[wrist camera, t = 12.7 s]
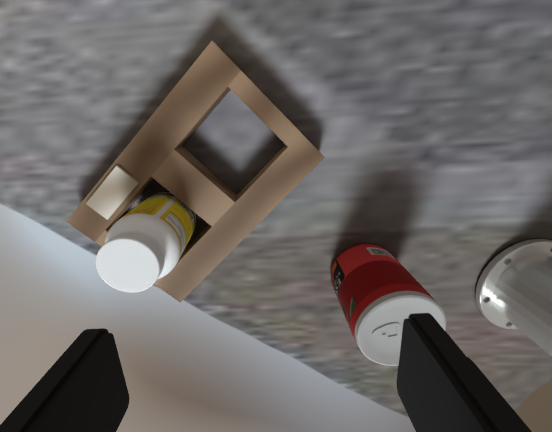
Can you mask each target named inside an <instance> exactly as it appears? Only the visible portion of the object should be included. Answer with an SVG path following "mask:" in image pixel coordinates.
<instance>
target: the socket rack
mask: <svg viewBox="0 0 552 432" xmlns="http://www.w3.org/2000/svg"><path fill="white" fill-rule="evenodd" d="M230 90H232V91H233V92H234V93H235V94H236V95H237V96H238V97H239V98H240V99H241V100H242V101H243V102H244V103H245V104H246V105H247V106H248V107H249V108H250V109H251V110H252V111H253V112H254V113H255V114H256V115H257V116H258V117H259V118H260V119H261V120H262V121H263V122H264V123H265V124H266V125H267V126H268V127H269V128H270V129H271V130H272V131H273V132H274V133H275V134H276V135H277V136H278V137H279V138H280V139H281V140H282V141H283V142H284V143H285V145H284V146H283V147H282V148H281V149H280V150H279V151H278V152H277V153H276V154H275V155H274V157H273V158H272V159H271V160H270V161H269V162H268V163H267V164H266V165H265V166H264V167H263V168H262V169H261V170H260V171H259V172H258V173H257V174H256V176H255V177H254V178H253V179H252V180H251V181H250V182H249V183H248V184H247V185H246V186H245V187H244V188H243V189H242V190H241V191H240V192H239V193H238V195H237V194H236V193H235V192H233V191H232V190H231V189H230V188H229V187H228V186H227V185H225V184H224V183H223V182H222V181H221V180H220V179H219V178H218V177H216V176H215V175H214V174H213V173H212V172H211V171H210V170H209V169H207V168H206V167H205V166H204V165H203V164H202V163H201V162H199V161H198V160H197V159H196V158H195V157H194V156H193V155H192V154H190V153H189V152H188V151H187V150H186V149H185V148H184V147H183V144H184V143H185V142H186V141H187V140H188V139H189V137H190V136H191V135H192V134H193V133H194V132H195V130H196V129H197V128H198V127H199V126H200V125H201V123H202V122H203V121H204V120H205V119H206V118H207V116H208V115H209V114H210V113H211V112H212V111H213V109H214V108H215V107H216V106H217V105H218V104H219V102H220V101H221V100H222V99H223V98H224V97H225V95H226V94H227V93H228V92H229V91H230ZM324 158H325V157H324V156H323V155H322V154H321V153H320V152H319V151H318V150H317V149H316V148H315V147H314V146H313V145H312V144H311V143H310V141H309V140H308V139H307V138H306V137H305V136H304V135H303V134H302V133H301V132H300V131H299V130H298V129H297V128H296V127H295V126H294V125H293V124H292V123H291V122H290V121H289V120H288V119H287V118H286V117H285V116H284V115H283V114H282V112H281V111H280V110H279V109H278V108H277V107H276V106H275V105H274V104H273V103H272V102H271V101H270V100H269V99H268V98H267V97H266V96H265V95H264V94H263V93H262V92H261V91H260V90H259V89H258V88H257V87H256V86H255V84H254V83H253V82H252V81H251V80H250V79H249V78H248V77H247V76H246V75H245V74H244V73H243V72H242V71H241V70H240V69H239V68H238V67H237V66H236V65H235V64H234V63H233V62H232V61H231V60H230V59H229V58H228V57H227V55H226V54H225V53H224V52H223V51H222V50H221V49H220V48H219V47H218V46H217V45H216V44H215V43H214V42H213V41H211V42H210V43H209V45H208V46H207V47H206V48H205V50H204V51H203V52H202V53H201V55H200V56H199V57H198V58H197V60H196V61H195V62H194V63H193V65H192V66H191V67H190V68H189V70H188V71H187V72H186V73H185V75H184V76H183V77H182V78H181V79H180V81H179V82H178V83H177V84H176V86H175V87H174V88H173V89H172V91H171V92H170V93H169V94H168V96H167V97H166V98H165V99H164V101H163V102H162V103H161V104H160V106H159V107H158V108H157V109H156V111H155V112H154V113H153V114H152V115H151V117H150V118H149V119H148V120H147V122H146V123H145V124H144V125H143V127H142V128H141V129H140V130H139V132H138V133H137V134H136V135H135V137H134V138H133V139H132V140H131V142H130V143H129V144H128V145H127V146H126V148H125V149H124V150H123V151H122V153H121V154H120V155H119V156H118V158H117V159H116V160H115V161H114V163H113V164H112V165H111V166H110V168H109V169H108V170H107V171H106V173H105V174H104V175H103V176H102V178H101V179H100V180H99V181H98V182H97V184H96V185H95V186H94V187H93V189H92V190H91V191H90V192H89V194H88V195H87V196H86V197H85V199H84V200H83V201H82V202H81V204H80V205H79V206H78V207H77V209H76V210H75V211H74V212H73V214H72V215H71V216H70V217H69V218H68V220H67V221H66V222H68V223H69V224H71V225H72V226H73V227H75V228H76V229H78V230H79V231H80V232H82V233H83V234H85V235H86V236H87V237H89V238H90V239H92V240H93V241H94V242H96V243H97V244H99V245H100V246H101V247H102V246H103V245H104V244H105V239H106V235H107V233H108V231H109V230H110V228H111V227H112V226H113V225H114V223H115V222H117V221H118V220H119V219H120V218H121V217H122V216H123V215H124V213H125V212H126V211H127V210H128V209H129V208H130V206H131V205H132V204H133V203H134V202H135V201H136V199H137V198H138V197H139V196H140V195H141V193H142V192H143V191H144V190H145V189H146V188H147V186H148V185H149V184H150V183H151V182H152V181H153V179H155V180H156V181H157V182H158V183H160V184H161V185H162V186H163V187H164V188H166V189H167V190H168V191H169V192H170V193H172V194H173V195H174V196H175V197H177V198H178V199H179V200H180V201H181V202H183V203H184V204H185V205H186V206H188V207H189V208H190V209H191V210H192V211H194V212H195V213H196V214H197V215H198V216H200V217H201V218H202V219H203V220H205V221H206V222H207V223H208V224H209V225H208V226H207V227H206V228H205V229H204V230H203V231H202V232H201V234H200V235H199V236H198V237H197V238H196V239H195V240H194V241H193V242H192V243H191V244H190V245H189V246H188V247H187V248H186V249H185V250H184V251H183V253H182V255H181V257H180V258H179V261H178V262H177V264H176V266H175V267H174V268H173V269H172V270H171V271H170V272H169V273H168V274H167V275H165V276H164V277H162V278H159V279H157V280H156V282H155V283H154V284H155V285H156V286H158V287H159V288H161V289H162V290H163V291H165V292H166V293H168V294H169V295H171V296H172V297H173V298H175V299H176V300H178V301H179V302H181V301H182V300H183V299H184V298H185V297H186V296H187V295H188V294H189V293H190V292H191V291H192V290H193V289H194V288H195V287H196V286H197V285H198V284H199V283H200V282H201V281H202V280H203V279H204V278H205V277H206V276H207V275H208V274H209V273H210V272H211V271H212V270H213V269H214V268H215V267H216V266H217V265H218V264H219V263H220V262H221V261H222V260H223V259H224V258H225V257H226V256H227V255H228V254H229V253H230V252H231V251H232V250H233V249H234V248H235V247H236V246H237V245H238V244H239V243H240V242H241V241H242V240H243V239H244V238H245V237H246V236H247V235H248V234H249V233H250V232H251V231H252V230H253V229H254V228H255V227H256V226H257V225H258V224H259V223H260V222H261V221H262V220H263V219H264V218H265V217H266V216H267V215H268V214H269V213H270V212H271V211H272V210H273V209H274V208H275V207H276V206H277V205H278V204H279V203H280V202H281V201H282V200H283V199H284V198H285V197H286V196H287V195H288V194H289V193H290V192H291V191H292V190H293V189H294V188H295V187H296V186H297V185H298V184H299V183H300V182H301V181H302V180H303V179H304V178H305V177H306V176H307V175H308V174H309V173H310V172H311V171H312V170H313V169H314V168H315V167H316V166H317V165H318V164H319V163H320V162H321V161H322V160H323V159H324Z"/></svg>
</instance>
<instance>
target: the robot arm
mask: <svg viewBox="0 0 552 432" xmlns="http://www.w3.org/2000/svg"><path fill="white" fill-rule="evenodd" d="M475 296H476V303H477V306H478V308H479V310H480V312H481V313H482V314H483V316H485V317H486V318H487V319H488V320H489V321H490V322H492V323H493V324H495V325H496V326H499V327H502V328H507V329H519V330H521V331H522V332H523V333H524V334H525V335H527V336H528V337H529V338H530V339H531V340H533V341H534V342H535V343H536V344H537V345H539V346H540V347H541V348H542V349H544V350H545V351H546V352H547V353H548V354H550V355H551V356H552V240H547V239H532V240H526V241H523V242H520V243H517V244H514V245H513V246H511V247H509V248H507V249H505V250H504V251H502V252H501V253H500V254H498V255H497V256H496V257H495V258H494V259H493V260H492V261H491V262H490V263H489V264H488V265H487V266H486V268H485V269H484V270H483V272H482V274H481V276H480V278H479V280H478V283H477V287H476V295H475ZM397 390H398V394H399V396H400V398H401V400H402V403H403V405H404V407H405V409H406V411H407V413H408V415H409V418H410V420H411V422H412V424H413V426H414V428H415V430H416V432H531V430H530V429H529V428H528V427H527V426H526V424H525V423H524V422H523V421H522V420H521V418H520V417H519V416H518V415H517V414H516V412H515V411H514V410H513V409H512V408H511V406H510V405H509V404H508V403H507V402H506V401H505V399H504V398H503V397H502V396H501V395H500V393H499V392H498V391H497V390H496V389H495V387H494V386H493V385H492V384H491V383H490V381H489V380H488V379H487V378H486V377H485V375H484V374H483V373H482V372H481V371H480V369H479V368H478V367H477V366H476V365H475V364H474V362H473V361H472V360H470V359H469V358H468V357H466V356H465V354H464V353H463V352H462V351H461V350H460V348H459V347H458V346H457V345H456V344H455V342H454V341H453V340H452V339H451V338H450V336H449V335H448V334H447V333H446V332H445V330H444V329H443V328H442V327H441V325H440V324H439V323H438V322H437V321H436V319H435V318H434V317H433V316H432V315H431V314H430V313H415V314H410V315H409V317H408V319H404V322H403V330H402V339H401V348H400V357H399V366H398V375H397ZM128 404H129V394H128V390H127V386H126V382H125V378H124V375H123V371H122V367H121V363H120V359H119V356H118V351H117V348H116V344H115V340H114V337H113V334H111V333H109V332H108V330H107V329H87V330H84V331H83V332H82V333H81V334H80V335H79V336H78V338H77V339H76V340H75V341H74V342H73V343H72V344H71V345H70V347H69V348H68V349H67V350H66V351H65V352H64V353H63V355H62V356H61V357H60V358H59V359H58V361H56V363H55V364H54V365H53V366H52V367H51V368H50V369H49V370H48V372H47V373H46V374H45V375H44V376H43V377H42V379H41V380H40V381H39V382H38V383H37V384H36V385H35V386H34V388H33V389H32V390H31V391H30V392H29V393H28V394H27V396H26V397H25V398H24V399H23V400H22V401H21V402H20V403H19V405H18V406H17V407H16V408H15V409H14V410H13V411H12V413H11V414H10V415H9V416H8V417H7V418H6V419H5V420H4V422H3V423H2V424H1V425H0V432H116V431H117V429H118V427H119V425H120V423H121V421H122V418H123V416H124V414H125V412H126V410H127V408H128Z"/></svg>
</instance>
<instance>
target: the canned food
mask: <svg viewBox="0 0 552 432" xmlns="http://www.w3.org/2000/svg"><path fill="white" fill-rule="evenodd" d="M331 283H332V286H333V288H334V291H335V293H336V296H337V298H338V300H339V303H340V305H341V308H342V310H343V312H344V315H345V317H346V320H347V322H348V324H349V327H350V329H351V332H352V334H353V336H354V338H355V341H356V343H357V345H358V346H359V348H360V350H361V351H362V353H363V354H364V355H365V356H366V357H367V358H368V359H370V360H371V361H373V362H376V363H378V364H382V365H387V366H398V365H399V357H400V348H401V339H402V330H403V322H404V319H408V317H409V315H410V314H415V313H430V314H431V315H432V316H433V317H434V318H435V319H436V321H437V322H438V323H439V324H440V325H441V327H442V328H443V329H444V330H446V317H445V315H444V312H443V310H442V309H441V308H440V306H439V305H438V303H437V302H436V301H435V300H434V299H433V298H432V297H431V295H430V294H429V293H428V292H427V291H426V290H425V289H424V288H423V287H422V286H421V285H420V284H419V283H418V282H417V281H416V279H415V278H414V277H413V276H412V275H411V274H410V273H409V272H408V271H407V270H406V269H405V268H404V267H403V266H402V265H401V264H400V263H399V262H398V261H397V260H396V259H395V258H394V257H393V255H392V254H391V253H390V252H388V251H387V250H386V249H384V248H382V247H380V246H377V245H373V244H358V245H354V246H351V247H349V248H347V249H346V250H344V251H343V252H341V253H340V254H339V255H338V256H337V258H336V259H335V261H334V263H333V265H332V269H331Z"/></svg>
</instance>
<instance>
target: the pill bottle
mask: <svg viewBox="0 0 552 432" xmlns="http://www.w3.org/2000/svg"><path fill="white" fill-rule="evenodd" d="M195 227H196V215H195V212H194V211H192V210H191V209H190V208H189V207H188V206H186V205H185V204H184V203H183V202H181V201H180V200H179V199H178V198H177V197H175V196H174V195H173V194H172V193H170V192H160V193H156V194H153V195H151V196H149V197H148V198H146V199H145V200H144V201H142V202H141V203H140V204H139V205H137V206H136V207H135V208H133V209H132V210H131V211H130V212H128V213H127V214H126V215H124V216H123V217H122V218H120V219H119V220H118V221H117V222H115V223H114V225H113V226H112V227H111V228H110V230H109V231H108V233H107V235H106V239H105V244H104V245H103V246H102V247H101V248H100V250H99V251H98V253H97V256H96V268H97V271H98V273H99V275H100V276H101V278H102V279H103V280H104V281H105V282H106V283H107V284H108V285H109V286H111V287H113V288H115V289H117V290H120V291H123V292H140V291H143V290H146V289H148V288H149V287H150V286H152V285H153V284H154V283H155V282H156V280H157V279H159V278H162V277H164V276H165V275H167V274H168V273H169V272H170V271H171V270H172V269H173V268H174V267H175V266H176V264H177V262H178V261H179V258H180V257H181V255H182V253H183V251H184V249H185V247H186V245H187V244H188V242H189V240H190V238H191V236H192V234H193V233H194V230H195Z"/></svg>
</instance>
